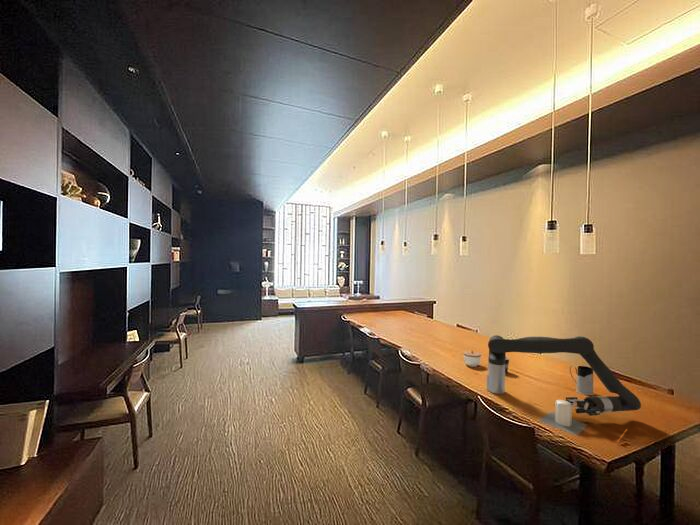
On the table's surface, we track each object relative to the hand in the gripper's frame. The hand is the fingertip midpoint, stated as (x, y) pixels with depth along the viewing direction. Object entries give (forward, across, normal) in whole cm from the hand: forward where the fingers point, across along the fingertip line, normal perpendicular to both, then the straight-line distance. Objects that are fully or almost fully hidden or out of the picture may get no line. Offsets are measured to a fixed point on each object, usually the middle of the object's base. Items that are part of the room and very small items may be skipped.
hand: (568, 406), depth 153 cm
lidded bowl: (+2, -86, +8) cm, 87 cm away
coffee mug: (-10, -70, +8) cm, 72 cm away
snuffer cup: (+3, 0, +8) cm, 8 cm away
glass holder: (-40, -34, +9) cm, 53 cm away
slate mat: (+3, 0, +8) cm, 9 cm away
